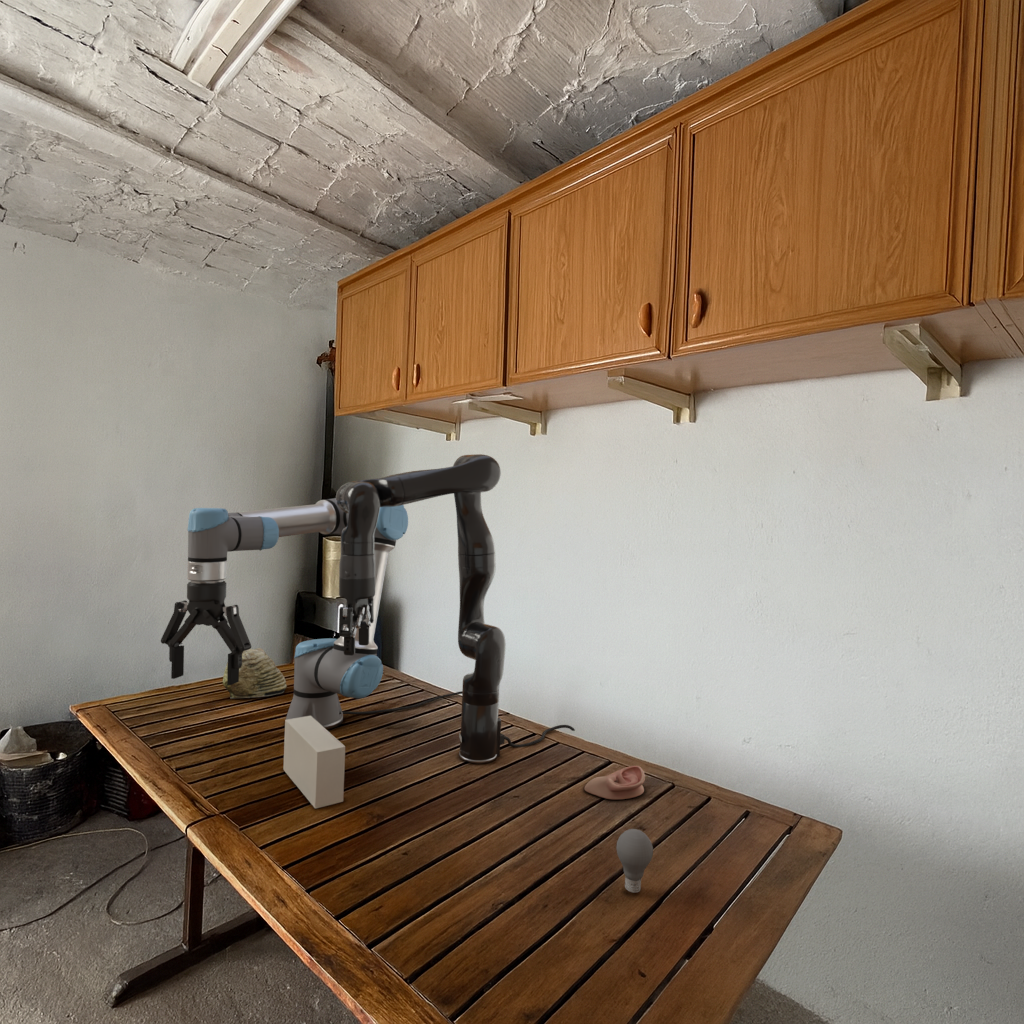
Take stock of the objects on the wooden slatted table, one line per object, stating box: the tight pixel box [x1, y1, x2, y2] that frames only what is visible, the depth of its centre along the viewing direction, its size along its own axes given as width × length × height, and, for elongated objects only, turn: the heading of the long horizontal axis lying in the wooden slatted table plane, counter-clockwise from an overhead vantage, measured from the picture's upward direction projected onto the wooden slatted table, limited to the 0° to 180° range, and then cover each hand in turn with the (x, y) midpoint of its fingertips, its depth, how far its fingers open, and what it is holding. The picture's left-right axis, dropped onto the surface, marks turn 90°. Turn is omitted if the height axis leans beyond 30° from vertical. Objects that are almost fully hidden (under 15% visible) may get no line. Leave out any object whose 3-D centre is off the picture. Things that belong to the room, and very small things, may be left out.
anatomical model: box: [584, 765, 646, 800], centre depth 143 cm, size 13×4×12 cm
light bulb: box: [615, 828, 654, 894], centre depth 106 cm, size 6×6×10 cm
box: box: [282, 716, 346, 809], centre depth 139 cm, size 22×6×12 cm, turn 36°
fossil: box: [222, 647, 288, 699], centre depth 198 cm, size 9×18×15 cm, turn 132°
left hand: (204, 680), depth 135 cm, fingers open, 13 cm apart
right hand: (356, 649), depth 136 cm, fingers open, 8 cm apart
